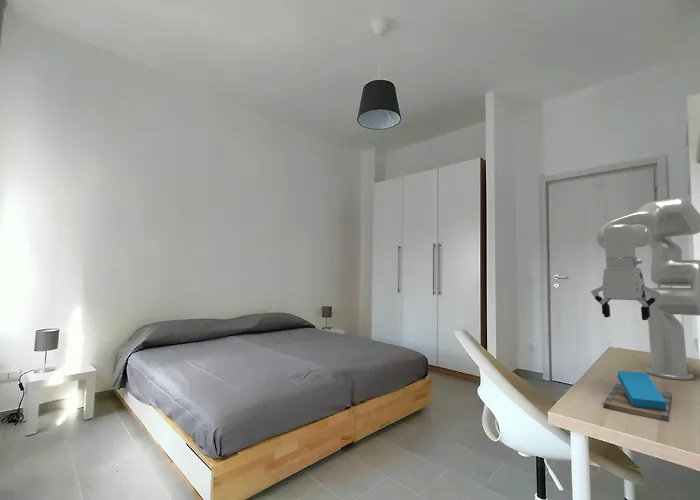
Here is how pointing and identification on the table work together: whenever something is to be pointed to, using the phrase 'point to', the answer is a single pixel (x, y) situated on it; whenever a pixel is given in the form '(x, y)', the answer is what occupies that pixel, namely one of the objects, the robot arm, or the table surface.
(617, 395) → the ribbed board
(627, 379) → the lever
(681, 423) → the table surface
